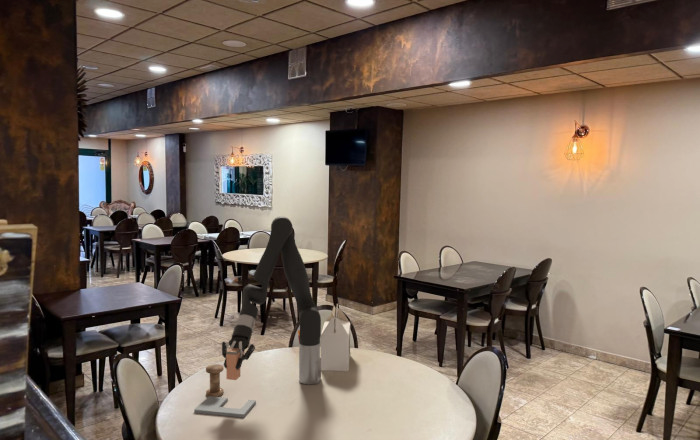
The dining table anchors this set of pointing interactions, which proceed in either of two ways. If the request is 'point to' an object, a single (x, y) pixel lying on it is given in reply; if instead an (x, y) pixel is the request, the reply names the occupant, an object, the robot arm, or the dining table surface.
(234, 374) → the orange tall block
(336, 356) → the gable box
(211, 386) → the bobbin
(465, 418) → the dining table surface
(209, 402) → the notched board
